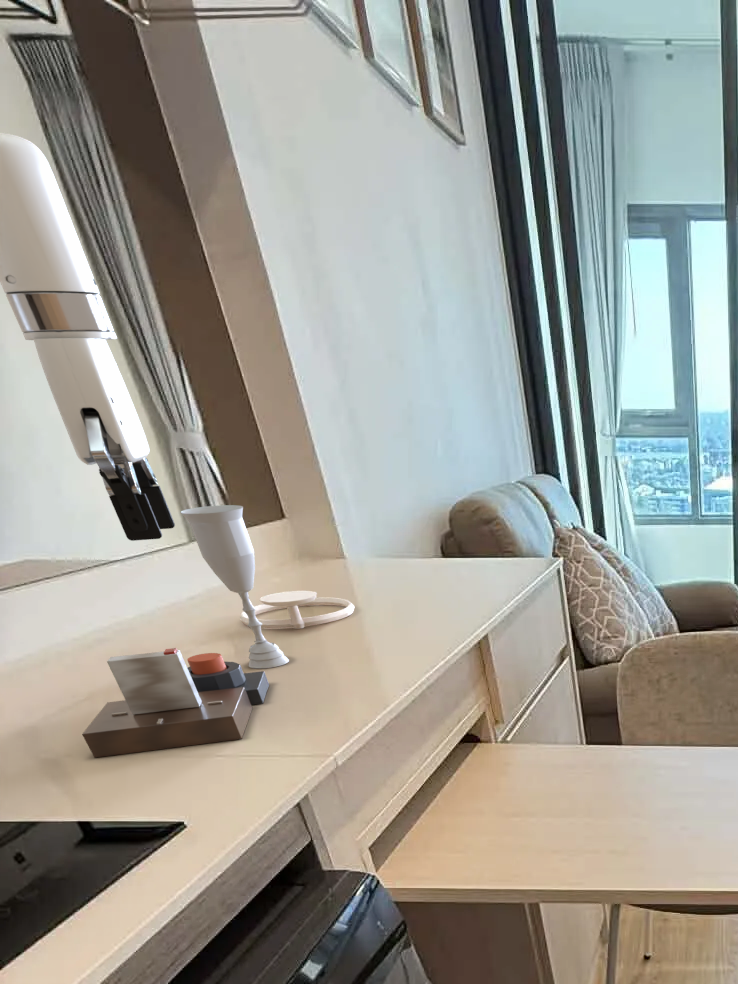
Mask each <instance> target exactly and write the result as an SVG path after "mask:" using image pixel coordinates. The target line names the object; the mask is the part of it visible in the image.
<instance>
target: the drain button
mask: <svg viewBox="0 0 738 984" xmlns="http://www.w3.org/2000/svg"><path fill="white" fill-rule="evenodd" d="M186 661H187V663H188V665H189V667H190V668H191V670H192V672H193V674H196V675H202V674H212V673H216V672H220V671H224V670H226V669H227V668H226V665H225V663H224V662H225V660H224V658H223V656H222V654H221V653H217V652H206V653H199V654H195V655H192V656H190V657H188V658H187V659H186Z"/></svg>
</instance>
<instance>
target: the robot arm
mask: <svg viewBox="0 0 738 984" xmlns="http://www.w3.org/2000/svg"><path fill="white" fill-rule="evenodd" d="M0 285H1V287H2V290H3V291H4V294H5V296H6V299H7V301H8V303H9V305H10V308H11V310H12V312H13V314H14V317H15V320H16V321H17V324H18V326H19V328H20V330H21V332H22V335H23V337H24V339H25V341H33V343H34V346H35V349H36V353H37V355H38V359H39V361H40V364H41V367H42V370H43V373H44V375H45V378H46V381H47V384H48V386H49V389H50V392H51V394H52V396H53V399H54V402H55V404H56V407H57V410H58V412H59V415H60V417H61V419H62V422H63V425H64V427H65V429H66V432H67V434H68V438H69V439H70V442H71V445H72V446H73V449H74V452H75V453H76V456H77V458H78V459H79V460H80V461H81V462H82V463H83V464H85V465H87V466H93V465H96V464H97V466H98V474H99V475H100V477H101V479H102V482H103V484H104V487H105V490H106V493H107V494H108V498H109V501H110V502H111V504H112V506H113V509H114V511H115V514H116V516H117V518H118V520H119V522H120V525H121V527H122V529H123V530H122V531H123V532H124V535H125V537H126V538H127V540H129V541H132V542H134V541H147V540H149V541H150V540H160V539H161V538H162V537H163V533H162V530H169V529H170V530H171V529H174V528H175V526H176V524H175V521H174V519H173V516H172V513H171V510H170V509H169V506H168V503H167V501H166V498H165V496H164V493H163V490H162V488H161V486H160V485H159V482H158V480H157V477H156V475H155V473H154V470H153V469H152V467H151V465H150V463H149V460H148V458H147V457H148V455H150V445H149V442H148V440H147V436H146V434H145V431H144V428H143V426H142V423H141V420H140V417H139V415H138V413H137V410H136V408H135V405H134V403H133V400H132V397H131V395H130V393H129V390H128V388H127V385H126V383H125V381H124V379H123V376H122V374H121V372H120V369H119V366H118V364H117V362H116V360H115V358H114V355H113V353H112V351H111V348H110V346H109V344H108V342H107V341H108V340H111V341H112V340H118V337H117V334H116V332H115V329H114V326H113V324H112V321H111V319H110V316H109V313H108V311H107V309H106V305H105V302H104V301H103V298H102V296H101V293H100V290H99V287H98V285H97V283H96V280H95V278H94V275H93V273H92V270H91V268H90V265H89V261H88V260H87V257H86V254H85V252H84V250H83V246H82V245H81V242H80V239H79V237H78V234H77V231H76V229H75V226H74V224H73V220H72V218H71V216H70V213H69V212H68V208H67V205H66V203H65V200H64V198H63V195H62V192H61V190H60V188H59V185H58V182H57V180H56V177H55V174H54V172H53V170H52V168H51V165H50V163H49V160H48V159H47V157H46V155H45V154H44V153H43V152H42V150H41V149H40V148H39V147H38V146H37V145H36V144H34V142H32V141H30V140H29V139H26V138H24V137H22V136H20V135H16V134H12V133H8V132H7V133H6V132H1V131H0Z"/></svg>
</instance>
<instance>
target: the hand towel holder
mask: <svg viewBox="0 0 738 984" xmlns="http://www.w3.org/2000/svg"><path fill="white" fill-rule="evenodd" d="M317 596H318V593H317V591H311V590H287V591H281V592H280V591H279V592H274V593H270V594H267V595H266V594H265V595H263V596H261V597H259V602H261V603H262V604H258V605H257V604H256V605H253V606H254V607H255V608H256V609H255V616H257V615H261V614H263V613H266V612H271V611H276V610H281V609H286V610H287V612H288V615H289V619H258V618H257V620H258V621H259V622H260V623H262V625H261V629H262V628H263V629H288V628H289V629H290V628H293V629H295V630H298V629H299V630H300V629H304V628H305V627H308V626H316V625H321V624H326V623H330V622H336V621H338V620H339V621H340V620H341V619H345V618H347V617H349V616H351V615H352V614H353V613H354V611H355V605H354V604H353V603H352V601H350V600H349V599H345V598H338V597H326V596H325V597H322V596H321V597H317ZM307 606H337V607H344V608H342V609H339V610H337V611H332V612H328V613H325V614H320V615H314V616H309V617H302V616H301V613H300V610H299V607H307ZM239 619H240V621H241V622H242V623H243V624H244V625H246V626H248V624H249V617H248V616H247V614H246V613H245V612H244V611H243V610H242V612H241V613H240V615H239Z"/></svg>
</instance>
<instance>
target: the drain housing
mask: <svg viewBox="0 0 738 984" xmlns="http://www.w3.org/2000/svg"><path fill="white" fill-rule="evenodd" d="M224 663H225V665H226V668H227V669H226V670H224V671H220V672H216V673H212V674H202V675H196V674H193V672H192V670H191V668H190V666H187V668H188V671H189V673H190V675H191V678H192V680H193V682H194V685H195V687H196V689H197V692H204V691H213V690H222V689H230V688H239V687H244V688H245V690H246V693H247V695H248V698H249V700H250V703H251V706H253V705H254V706H255V705H263V704H264V702H265V699H266V696H267V693H268V689H269V687H270V683H269V680H268V677H267V675H266V672H265V670H262V671H254V672H253V671H252V672H244V671H243V668H242V666H241V663H237V662H235V661H224Z"/></svg>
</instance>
